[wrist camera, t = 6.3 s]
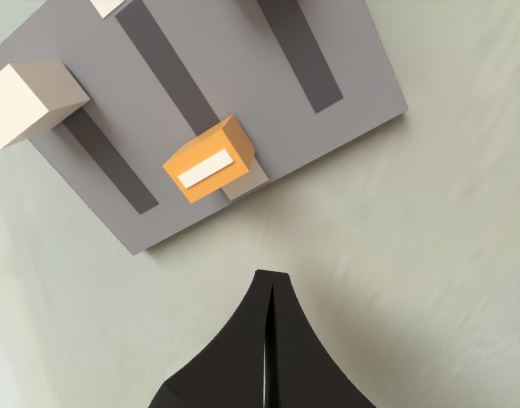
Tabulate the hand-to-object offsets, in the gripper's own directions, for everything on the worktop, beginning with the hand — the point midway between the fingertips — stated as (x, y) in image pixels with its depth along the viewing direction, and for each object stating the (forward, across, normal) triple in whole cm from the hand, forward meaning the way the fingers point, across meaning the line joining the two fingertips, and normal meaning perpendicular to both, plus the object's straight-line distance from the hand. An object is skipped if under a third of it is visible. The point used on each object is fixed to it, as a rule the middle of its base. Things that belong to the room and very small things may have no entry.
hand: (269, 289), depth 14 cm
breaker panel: (+6, +5, -7) cm, 11 cm away
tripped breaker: (+5, +3, -4) cm, 7 cm away
